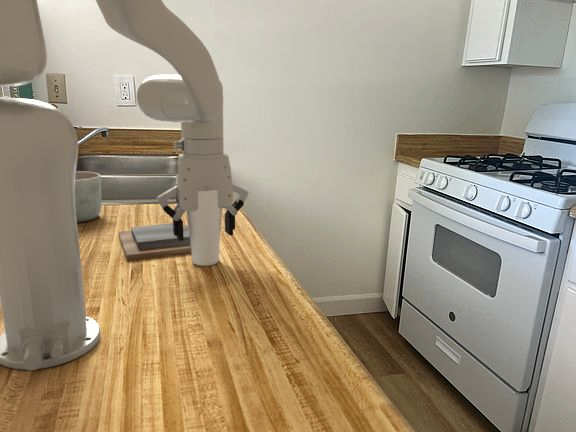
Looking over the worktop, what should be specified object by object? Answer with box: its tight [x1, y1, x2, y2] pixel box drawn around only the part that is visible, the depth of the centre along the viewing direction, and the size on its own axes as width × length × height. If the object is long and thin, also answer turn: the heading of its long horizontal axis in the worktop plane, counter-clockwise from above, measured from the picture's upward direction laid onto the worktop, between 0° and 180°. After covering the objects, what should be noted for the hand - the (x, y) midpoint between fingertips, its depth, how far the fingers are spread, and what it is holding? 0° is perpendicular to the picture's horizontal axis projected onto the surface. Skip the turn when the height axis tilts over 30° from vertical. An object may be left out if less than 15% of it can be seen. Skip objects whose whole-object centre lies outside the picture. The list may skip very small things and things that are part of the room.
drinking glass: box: [185, 190, 223, 267], centre depth 92 cm, size 7×7×15 cm
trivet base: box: [117, 222, 191, 262], centre depth 103 cm, size 16×16×3 cm
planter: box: [75, 170, 102, 223], centre depth 119 cm, size 12×12×11 cm
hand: (204, 236), depth 92 cm, fingers open, 9 cm apart
